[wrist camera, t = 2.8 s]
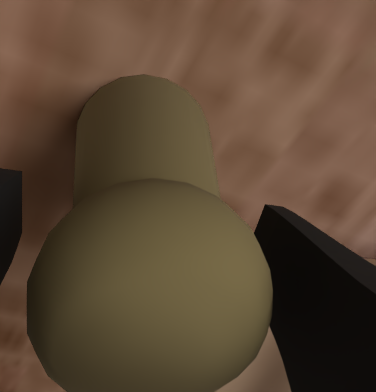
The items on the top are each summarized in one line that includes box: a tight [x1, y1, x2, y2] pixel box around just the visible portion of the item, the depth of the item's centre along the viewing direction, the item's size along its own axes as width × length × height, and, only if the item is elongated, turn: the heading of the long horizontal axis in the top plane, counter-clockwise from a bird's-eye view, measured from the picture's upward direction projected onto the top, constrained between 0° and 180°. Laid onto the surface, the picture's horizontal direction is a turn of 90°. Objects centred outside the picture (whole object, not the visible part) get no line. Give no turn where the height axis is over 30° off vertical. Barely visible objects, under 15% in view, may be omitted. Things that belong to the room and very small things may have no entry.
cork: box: [27, 75, 273, 392], centre depth 11 cm, size 6×6×11 cm
